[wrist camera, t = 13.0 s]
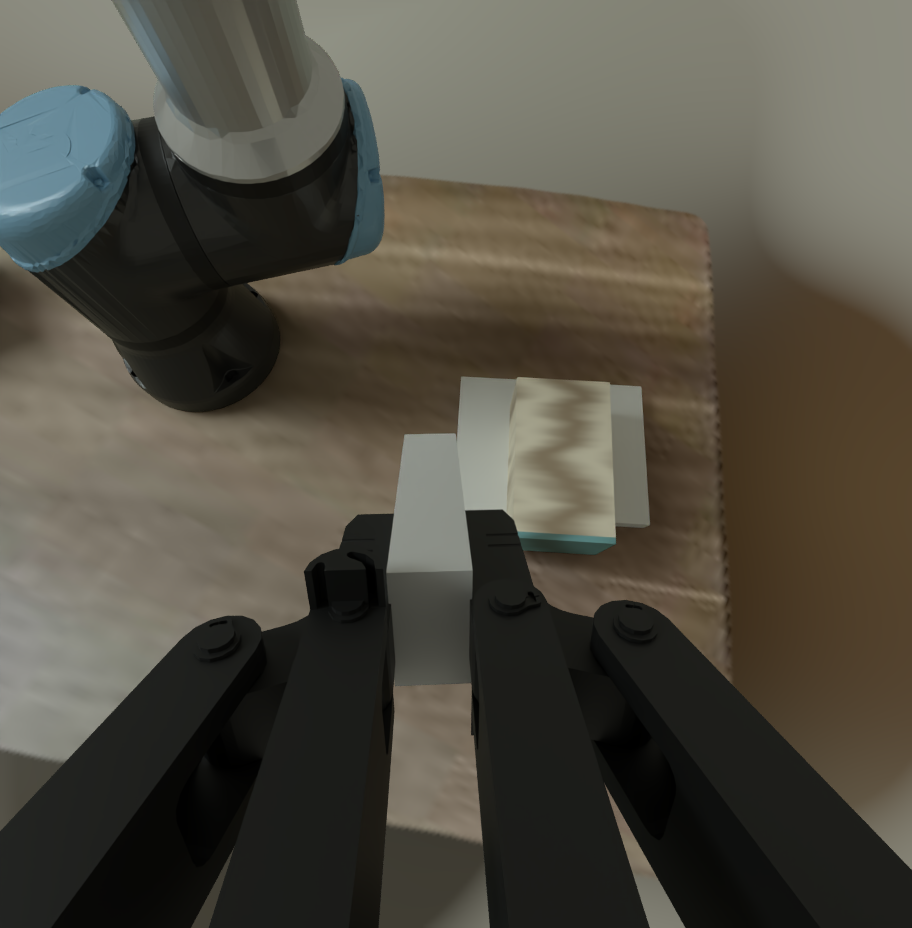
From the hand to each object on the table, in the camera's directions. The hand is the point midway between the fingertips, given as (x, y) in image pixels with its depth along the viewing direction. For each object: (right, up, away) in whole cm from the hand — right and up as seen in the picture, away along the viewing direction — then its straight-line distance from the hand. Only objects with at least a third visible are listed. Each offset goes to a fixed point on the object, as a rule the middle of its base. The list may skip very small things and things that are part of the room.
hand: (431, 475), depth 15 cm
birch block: (+9, -7, +26) cm, 28 cm away
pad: (+10, +2, +33) cm, 35 cm away
